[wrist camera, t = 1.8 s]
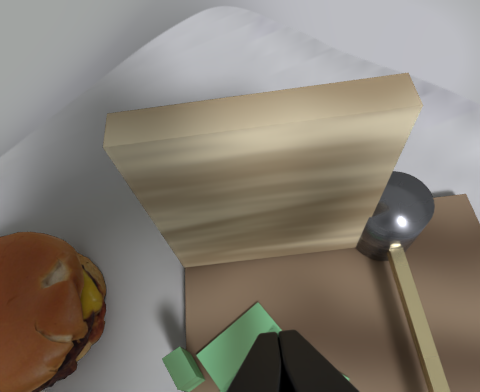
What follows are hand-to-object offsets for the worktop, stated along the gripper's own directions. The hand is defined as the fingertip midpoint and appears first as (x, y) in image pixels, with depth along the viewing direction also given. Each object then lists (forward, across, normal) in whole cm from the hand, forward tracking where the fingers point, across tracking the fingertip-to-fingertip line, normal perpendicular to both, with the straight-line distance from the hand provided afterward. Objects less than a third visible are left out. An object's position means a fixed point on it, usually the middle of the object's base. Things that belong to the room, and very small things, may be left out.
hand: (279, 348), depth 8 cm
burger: (+13, +14, +6) cm, 21 cm away
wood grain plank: (+11, -2, +7) cm, 13 cm away
